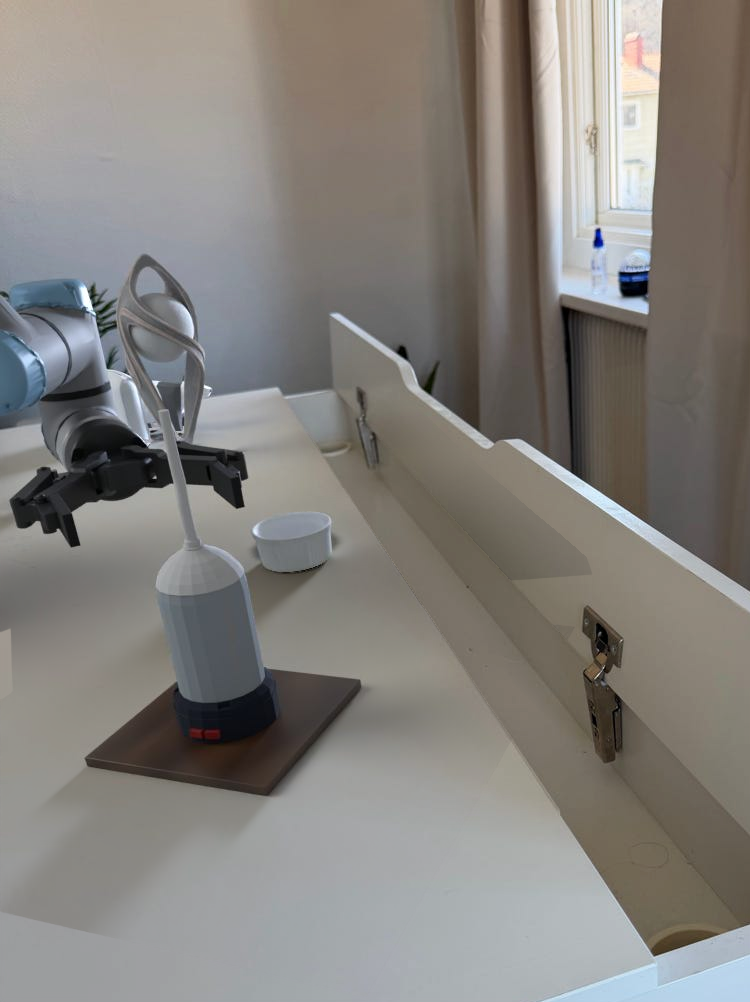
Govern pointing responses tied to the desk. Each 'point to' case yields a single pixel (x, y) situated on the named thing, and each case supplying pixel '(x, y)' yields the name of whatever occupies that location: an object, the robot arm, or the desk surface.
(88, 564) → the desk surface
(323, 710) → the mat
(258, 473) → the desk surface
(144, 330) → the sculpture
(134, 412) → the photo printer
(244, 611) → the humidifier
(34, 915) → the desk surface
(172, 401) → the dark grey angular block
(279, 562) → the ramekin
